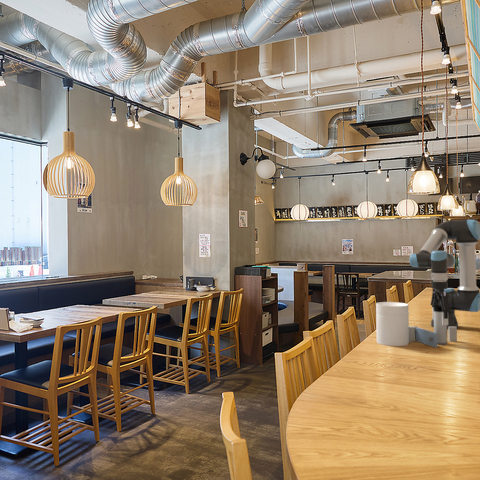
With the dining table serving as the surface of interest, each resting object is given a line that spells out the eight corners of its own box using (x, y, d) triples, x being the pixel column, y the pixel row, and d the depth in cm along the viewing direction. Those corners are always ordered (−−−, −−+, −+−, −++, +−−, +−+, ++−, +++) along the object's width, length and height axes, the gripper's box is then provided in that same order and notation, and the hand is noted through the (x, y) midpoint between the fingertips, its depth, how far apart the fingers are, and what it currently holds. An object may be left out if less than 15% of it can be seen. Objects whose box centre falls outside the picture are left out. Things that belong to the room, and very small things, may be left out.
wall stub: (455, 340, 233) (455, 326, 233) (456, 341, 231) (456, 327, 231) (448, 340, 233) (448, 326, 233) (449, 341, 231) (449, 327, 231)
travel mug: (431, 342, 230) (430, 303, 230) (443, 342, 230) (442, 303, 230) (437, 345, 223) (436, 305, 224) (449, 344, 224) (449, 305, 224)
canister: (413, 342, 231) (413, 303, 231) (401, 347, 220) (400, 307, 220) (384, 337, 242) (384, 301, 242) (371, 343, 230) (370, 304, 231)
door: (437, 347, 218) (437, 332, 218) (432, 347, 217) (432, 333, 217) (416, 340, 235) (416, 326, 235) (411, 340, 234) (411, 326, 234)
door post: (412, 340, 235) (412, 326, 235) (414, 341, 232) (414, 327, 232) (406, 340, 236) (406, 326, 236) (408, 341, 233) (408, 327, 233)
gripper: (423, 278, 240) (424, 317, 240) (440, 283, 215) (441, 327, 215) (438, 278, 239) (438, 317, 239) (456, 283, 214) (457, 327, 215)
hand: (440, 322), depth 227 cm, fingers open, 13 cm apart
